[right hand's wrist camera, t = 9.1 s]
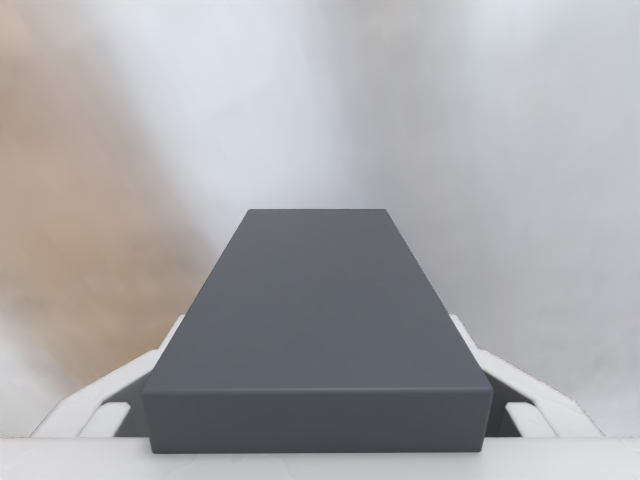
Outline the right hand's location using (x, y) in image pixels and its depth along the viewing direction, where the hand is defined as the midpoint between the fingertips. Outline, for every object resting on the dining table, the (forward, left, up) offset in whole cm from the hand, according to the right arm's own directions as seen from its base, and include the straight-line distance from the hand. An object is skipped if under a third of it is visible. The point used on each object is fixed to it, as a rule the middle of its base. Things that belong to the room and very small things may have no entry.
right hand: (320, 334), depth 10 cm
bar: (-1, +10, -3) cm, 11 cm away
